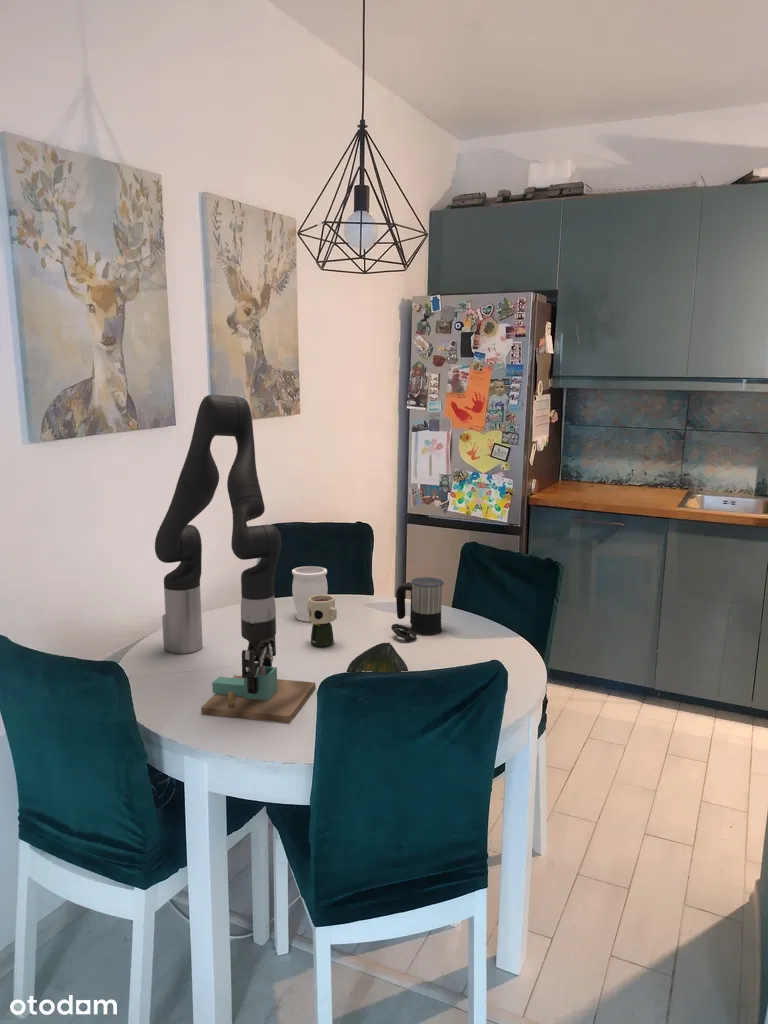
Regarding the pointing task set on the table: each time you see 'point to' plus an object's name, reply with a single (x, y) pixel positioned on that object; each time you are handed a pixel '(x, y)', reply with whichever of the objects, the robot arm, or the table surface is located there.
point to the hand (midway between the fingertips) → (260, 685)
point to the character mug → (322, 618)
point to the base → (262, 702)
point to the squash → (378, 660)
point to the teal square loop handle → (239, 687)
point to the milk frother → (420, 607)
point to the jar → (307, 587)
